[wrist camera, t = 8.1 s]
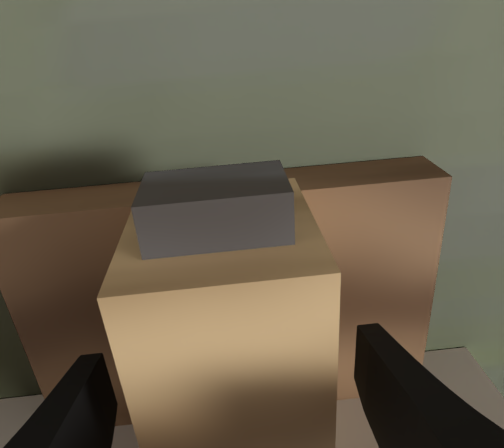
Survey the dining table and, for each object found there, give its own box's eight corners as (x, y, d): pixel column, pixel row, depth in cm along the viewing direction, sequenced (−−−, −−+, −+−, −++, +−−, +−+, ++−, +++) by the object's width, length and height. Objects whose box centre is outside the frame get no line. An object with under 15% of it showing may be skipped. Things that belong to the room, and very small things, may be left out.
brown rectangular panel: (398, 354, 19) (418, 391, 17) (73, 390, 18) (57, 432, 16) (422, 156, 15) (452, 176, 13) (3, 193, 14) (-28, 221, 12)
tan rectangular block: (299, 397, 17) (332, 540, 12) (182, 410, 16) (171, 561, 12) (293, 137, 12) (342, 215, 7) (130, 151, 12) (80, 240, 7)
